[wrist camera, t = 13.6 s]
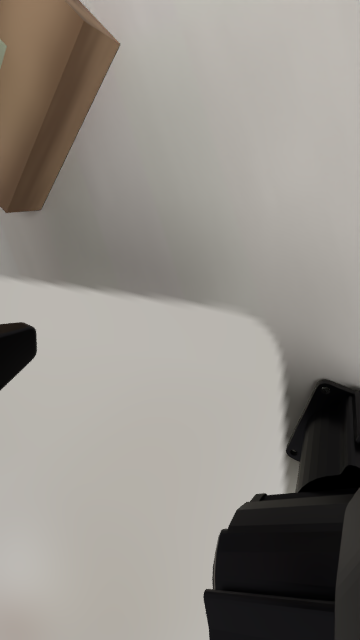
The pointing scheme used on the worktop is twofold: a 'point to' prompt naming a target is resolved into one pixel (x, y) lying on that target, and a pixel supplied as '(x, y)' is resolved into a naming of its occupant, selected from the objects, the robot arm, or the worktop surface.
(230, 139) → the worktop surface
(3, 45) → the sage block
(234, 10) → the worktop surface
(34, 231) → the worktop surface
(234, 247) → the worktop surface
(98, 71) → the walnut base
